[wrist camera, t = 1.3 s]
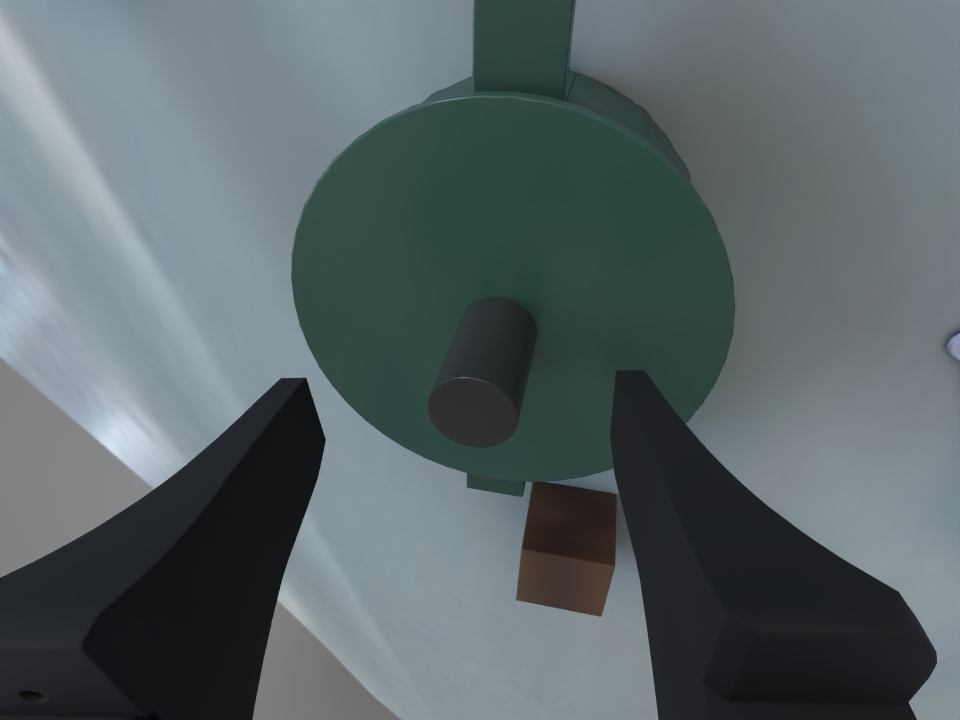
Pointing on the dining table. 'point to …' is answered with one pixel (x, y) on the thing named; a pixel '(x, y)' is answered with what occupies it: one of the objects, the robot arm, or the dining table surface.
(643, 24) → the dining table surface
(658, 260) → the lid
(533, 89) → the pot
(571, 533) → the block
